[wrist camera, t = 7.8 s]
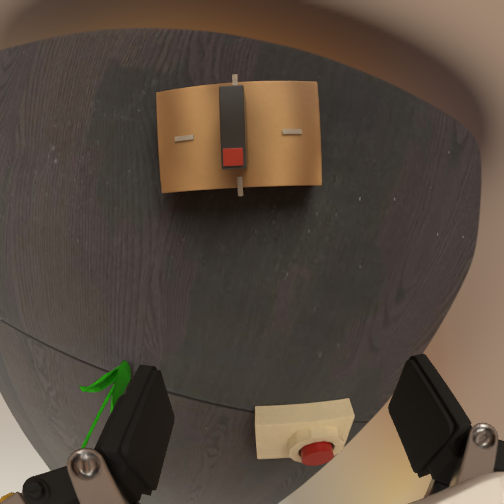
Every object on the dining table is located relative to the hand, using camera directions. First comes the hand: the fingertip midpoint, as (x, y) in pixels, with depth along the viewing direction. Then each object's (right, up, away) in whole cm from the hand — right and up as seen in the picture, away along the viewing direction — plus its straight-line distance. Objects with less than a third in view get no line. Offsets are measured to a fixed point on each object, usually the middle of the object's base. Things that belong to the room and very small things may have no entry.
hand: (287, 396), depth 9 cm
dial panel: (-2, +15, +12) cm, 19 cm away
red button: (+7, -19, +19) cm, 28 cm away
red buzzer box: (+5, -18, +23) cm, 30 cm away
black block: (-2, +14, +10) cm, 17 cm away
